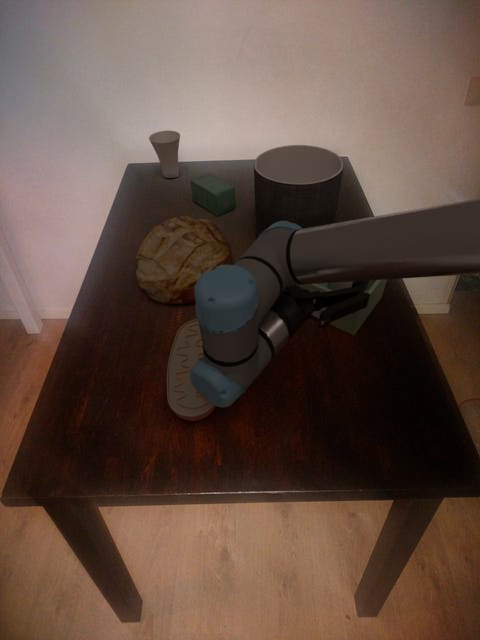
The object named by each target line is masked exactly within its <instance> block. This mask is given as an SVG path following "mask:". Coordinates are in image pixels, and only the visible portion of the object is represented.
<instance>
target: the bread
mask: <svg viewBox="0 0 480 640" xmlns="http://www.w3.org/2000/svg"><path fill="white" fill-rule="evenodd" d="M134 259H135V264H136V266H137V269H136V270H135V271H136V272H135V275H136V279H137V282H138V285H139V287H140V288H141V289H143V291H144V292H145V293H146V294H147V297H148V298H149V299H151V300H153V301H155V302H157V303H159V304H167V305H187V304H192V303H196V302H195V293H194V290H195V285H196V282H197V280H198V279H199V277H200V276H201V275H202V274H203V273H204V272H206V271H207V270H213V269H215V267H216V266H220V265H233V252H232V247H231V245H230V243H229V240H228V238H227V237H226V236H225V234H224V233H223V231H220V229H219V227H218V226H217V225H216V224H215V223H214V222H213V221H212V220H210V219H206V218H193V217H192V216H189V215H188V214H184V215H180V216H175V217H172V218H169V219H167V220H164V221H162V222H161V223H157V225H155V226H154V227H153V228H152V229H151V231H150V232H149V233H148V234H147V235H146V236H145V238H144V239H143V240H142V242H141V244H140V246H139V248H138V250H137V251H136V253H135V257H134Z"/></svg>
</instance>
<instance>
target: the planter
mask: <svg viewBox="0 0 480 640" xmlns="http://www.w3.org/2000/svg"><path fill="white" fill-rule="evenodd" d="M344 163H345V162H344V160H343V159H342V158H341V156H340V155H339V154H337V153H336V152H334V151H332V150H330V149H327V148H324V147H320V146H315V145H307V144H291V145H290V144H289V145H283V146H277V147H273V148H271V149H268V150H265V151H263V152H262V153H261V154H259V155H258V156H257V157H256V158H255V159H254V162H253V182H254V183H253V185H254V186H253V187H254V188H253V189H254V216H255V217H254V219H255V236H256V238H257V237H258V236H259V235H260V234H262V233H263V231H265V230H266V229H268V228H269V227H270V226H271V225H272V224H274V223H276V222H279V221H288V222H290V223H295V224H297V225H299V226H300V227H301V228H302V229H305V228H311V227H316V226H322V225H328V224H334V223H336V217H337V210H338V204H339V198H340V192H341V186H342V181H343V180H342V178H343V173H344V168H345V167H344V166H345V164H344Z"/></svg>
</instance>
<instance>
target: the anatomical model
mask: <svg viewBox="0 0 480 640" xmlns="http://www.w3.org/2000/svg"><path fill="white" fill-rule="evenodd" d="M203 356H204V354H203V344H202V339H201V333H200V328H199V323H198V320H197V318H195V319H191V320H189V321H187V322H185V323H183V324H182V325H181V326H180V327H179V329H178V330H177V332H176V334H175V337H174V340H173V343H172V346H171V349H170V353H169V356H168V361H167V369H166V397H167V398H166V399H167V403H168V406H169V407H170V409H171V411H172V412H173V413H174V415H176V416H177V417H178V418H180V419H182V420H184V421H188V422H197V421H201V420H203V419H205V418H207V417H208V416H210V415H211V414H212V413H213V412H214V410H215V409H216V408H217V406H215V405H213V404H211V403H210V402H208V401H207V400H206V399H204V398H203V397H202V396H201V395H200V394H199V393H198V392H197V390H196V389H195V388H194V386H193V384H192V382H191V380H190V372H191V369H192V368H193V367H194V365H195V364H196V363H197V361H198V360H200V359H201V358H202V357H203Z"/></svg>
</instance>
